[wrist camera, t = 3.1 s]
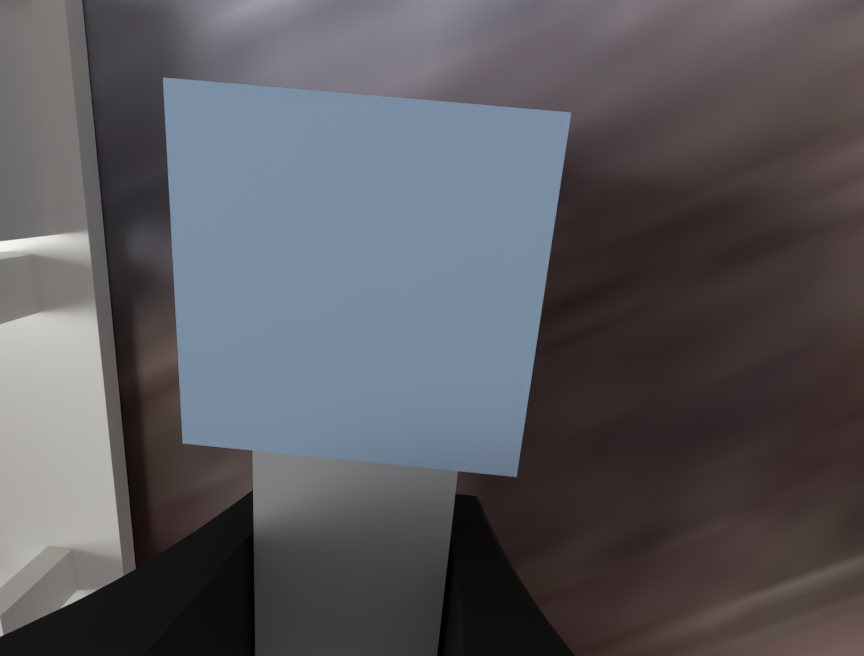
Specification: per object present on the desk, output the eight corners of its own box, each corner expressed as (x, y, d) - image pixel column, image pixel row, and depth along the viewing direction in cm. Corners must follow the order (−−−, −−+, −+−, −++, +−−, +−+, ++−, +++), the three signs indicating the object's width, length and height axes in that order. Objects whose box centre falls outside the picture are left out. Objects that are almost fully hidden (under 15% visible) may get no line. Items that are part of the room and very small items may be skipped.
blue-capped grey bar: (439, 784, 14) (432, 1039, 10) (286, 767, 15) (213, 1012, 10) (520, 147, 10) (571, 112, 5) (291, 127, 10) (162, 76, 6)
